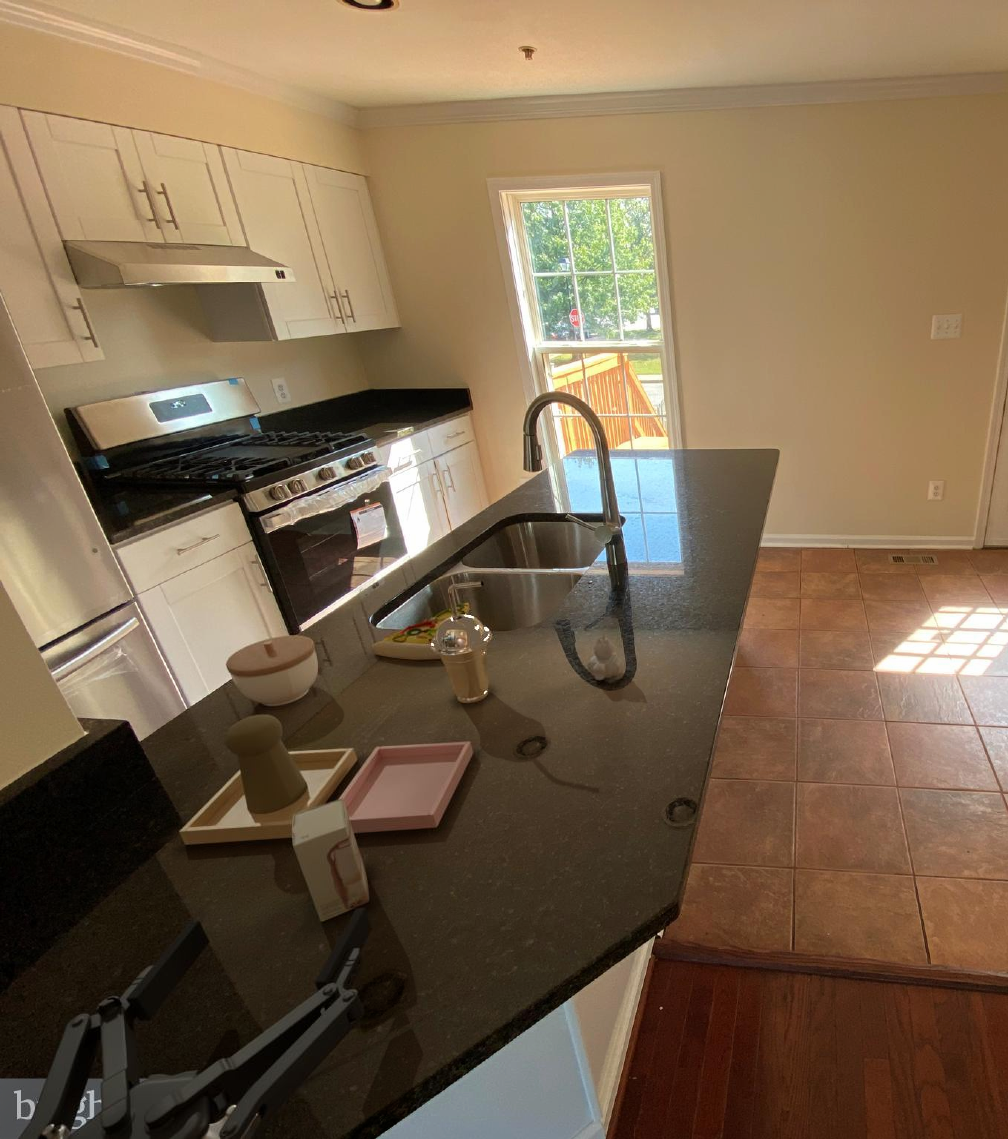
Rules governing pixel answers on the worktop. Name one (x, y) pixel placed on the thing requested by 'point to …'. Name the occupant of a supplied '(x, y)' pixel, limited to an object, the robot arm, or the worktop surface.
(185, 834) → the birch tray
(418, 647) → the pizza slice
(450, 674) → the cup with straw
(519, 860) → the worktop surface
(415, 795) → the pink tray
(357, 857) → the white carton
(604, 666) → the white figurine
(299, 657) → the trinket box
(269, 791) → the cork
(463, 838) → the worktop surface
